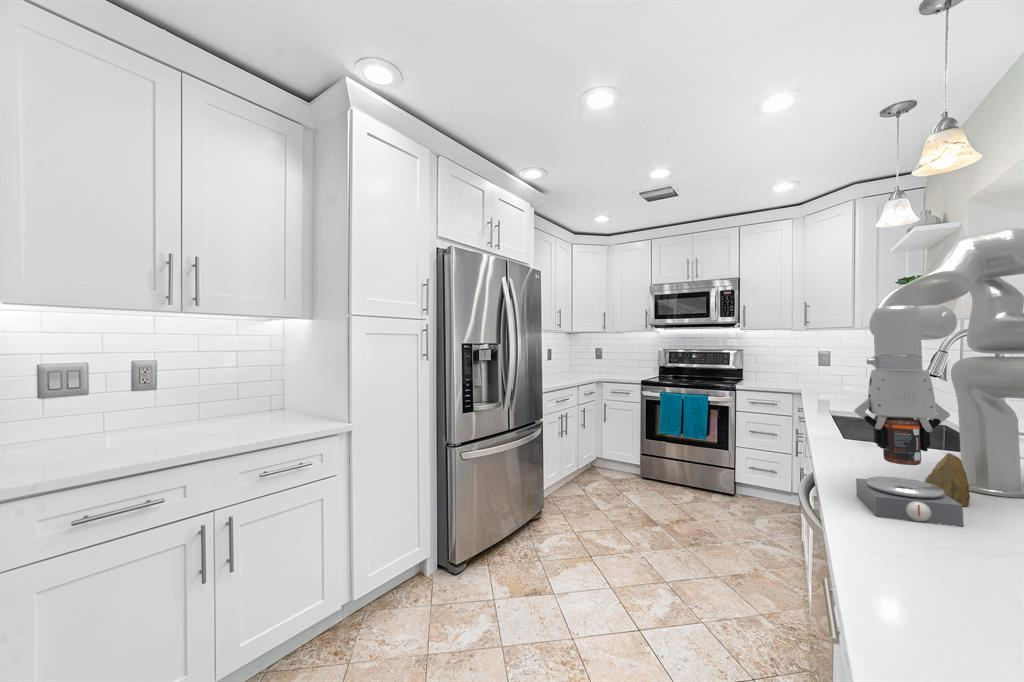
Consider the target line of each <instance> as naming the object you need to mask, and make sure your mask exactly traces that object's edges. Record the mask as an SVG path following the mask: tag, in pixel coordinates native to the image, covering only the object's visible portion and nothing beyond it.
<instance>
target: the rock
mask: <svg viewBox="0 0 1024 682" xmlns="http://www.w3.org/2000/svg"><path fill="white" fill-rule="evenodd" d="M923 482H926V483H930V484H933V485H936V486H938V487H940V488H942V489H943V490H944V494H945V495H947V496H948V497H950V498H952V499H953V500H955V501H956V502H958V503H959V504H961V505H963V507H969V504H970V498H971V497H970V496H971V495H970V490H969V485H968V482H967V477H966V472H965V471H964V468H963V465H962V462H961V457H958V456H957V455H955V454H953V453H949V452H947V453H946V454H945V455H944V456H943V457H942V458H941V459H940V461H938V462H937V464H936V465H935V467H934V468H933V470H932V471H931V472H930V474H928V476H926V477H925V479H924V481H923Z"/></svg>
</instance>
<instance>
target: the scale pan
mask: <svg viewBox="0 0 1024 682" xmlns="http://www.w3.org/2000/svg"><path fill="white" fill-rule="evenodd" d="M866 479H867V485H868V486H870V487H872V488H874V489H877V490H880V491H883V492H887V493H892V494H897V495H902V496H909V497H918V498H938V497H942V496H944V490H943V489H942V488H940V487H938V486H936V485H933V484H930V483H926V482H924V481H921V480H917V479H910V478H905V477H896V476H895V477H894V476H871V477H868V478H866Z"/></svg>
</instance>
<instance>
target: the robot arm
mask: <svg viewBox="0 0 1024 682" xmlns="http://www.w3.org/2000/svg"><path fill="white" fill-rule="evenodd" d="M1016 275H1017V276H1018V275H1024V228H1022V227H1020V228H1019V227H1007V228H1003V229H1002V228H1001V229H997V230H992V231H985V232H983V233H978V234H972V235H967V236H962V237H959V238H956V239H954V240H951V241H950V242H949V243H947V244H946V245H945V246H944V247H943V249H942V250H941V252H940V253H939V254H938V256H937V257H936V258H935V260H934V261H933V263H932V264H931V265H930V266H929V268H928V270H927V271H926V272H925V274H923V275H921V276H919V277H917V278H915V279H912V280H911V281H909V282H908V283H906V284H904V285H901V286H900V287H898V288H896V289H893V291H891V292H889V294H887V295H886V296H885V297H883V299H882V300H881V301H880V302H879V303H878V305H877V306H876V307H875V308H874V311H873V312H872V314H871V316H870V318H869V324H868V326H869V331H870V333H871V334H872V336H873V345H874V346H873V347H874V349H873V350H874V355H873V357H871V358H870V357H869V358H866V365H871V366H873V367H874V368H875V369H872V370H871V372H870V375H869V380H868V381H869V382H868V392H867V399H866V400H864V401H863V402H862V403H861V404H860V405H858V406H856V408H854V410H853V412H854V413H855V414H856V415H858V416H859V417H860V418H862V419H863V420H864V421H865V422H867V424H868V425H870V426H871V427H872V428H873V442H874V443H875V444H876V446H877V447H879V448H880V449H882V450H883V449H885V448H886V431H885V430H883V425H884V423H885V421H886V418H887V417H893V418H914V420H916V421H918V422H919V424H920V444H921V452H922V451H923V452H928V450H929V449H928V448H929V447H930V446H931V435H930V433H931V432H932V431H933V430H934V429H936V427H938V426H939V425H941V423H943V422H944V421H945V420H946V419H948V418H949V417H951V414H950V412H948V411H947V410H946V409H944V408H943V407H942V406H941V405H939V404H938V403H937V402H936V399H935V393H934V387H933V383H932V382H933V381H932V378H931V375H930V371H929V370H925V369H923V350H922V349H923V347H922V341H927V340H928V341H929V340H930V341H931V340H934V341H935V340H939V339H940V340H941V339H944V338H947V337H949V336H950V335H951V334H953V333H954V332H955V330H956V329H957V325H958V318H957V316H956V313H955V312H953V310H952V309H951V308H949V307H946V306H945V305H943V304H945V303H947V302H951V301H954V300H956V299H960V298H961V297H963V296H965V295H966V294H968V293H970V296H971V300H972V302H971V310H970V316H969V321H968V325H967V326H968V327H967V332H966V342H967V347H969V349H970V350H971V351H974V352H976V353H979V354H989V355H990V354H991V355H993V354H994V355H997V356H986V355H985V356H983V355H981V356H970V357H964V358H961V359H959V360H957V361H956V362H954V364H953V365H952V367H951V369H950V378H951V383H952V385H953V389H954V393H955V395H956V396H955V397H956V401H957V402H956V403H957V410H958V426H959V427H958V428H959V429H958V431H959V449H960V460H961V462H962V465H963V468H964V471H965V472H966V477H967V482H968V485H969V492H975V493H979V494H984V495H985V494H986V495H989V496H998V497H1007V498H1024V485H1022V470H1021V469H1022V468H1021V453H1020V434H1019V433H1020V431H1019V418H1018V415H1017V413H1016V411H1014V409H1013V408H1012V407H1011V406H1010V405H1009V404H1008V403H1007V401H1005V400H1004V399H1005V398H1006V399H1008V398H1009V399H1020V400H1021V399H1022V400H1023V399H1024V356H1005V355H1009V354H1010V355H1013V354H1014V355H1023V354H1024V294H1023V293H1022V292H1021V291H1020V290H1019V289H1018V288H1017V287H1015V286H1014V285H1012V284H1011V283H1009V282H1007V281H1005V280H1004V279H1003V278H1001V277H1009V276H1016ZM998 354H999V355H1001V356H998ZM1002 355H1004V356H1002ZM1003 398H1004V399H1003ZM867 410H868V411H869V412H870V414H874V417H872V416H871V415H869V414H868V413H867ZM930 448H931V447H930Z"/></svg>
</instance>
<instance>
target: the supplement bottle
mask: <svg viewBox="0 0 1024 682" xmlns="http://www.w3.org/2000/svg"><path fill="white" fill-rule="evenodd" d="M883 430H885V431H886V448H885V449H883V448H882V451H883V453H882V454H883V459H884V460H885V461H886V462H888V463H891V464H897V465H902V466H903V465H904V466H918V465H920V464H922V450H921V444H920V424H919V422H918V421H916V420H915V419H914V418H893V417H887V418H886V421H885V423H884V425H883Z"/></svg>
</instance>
